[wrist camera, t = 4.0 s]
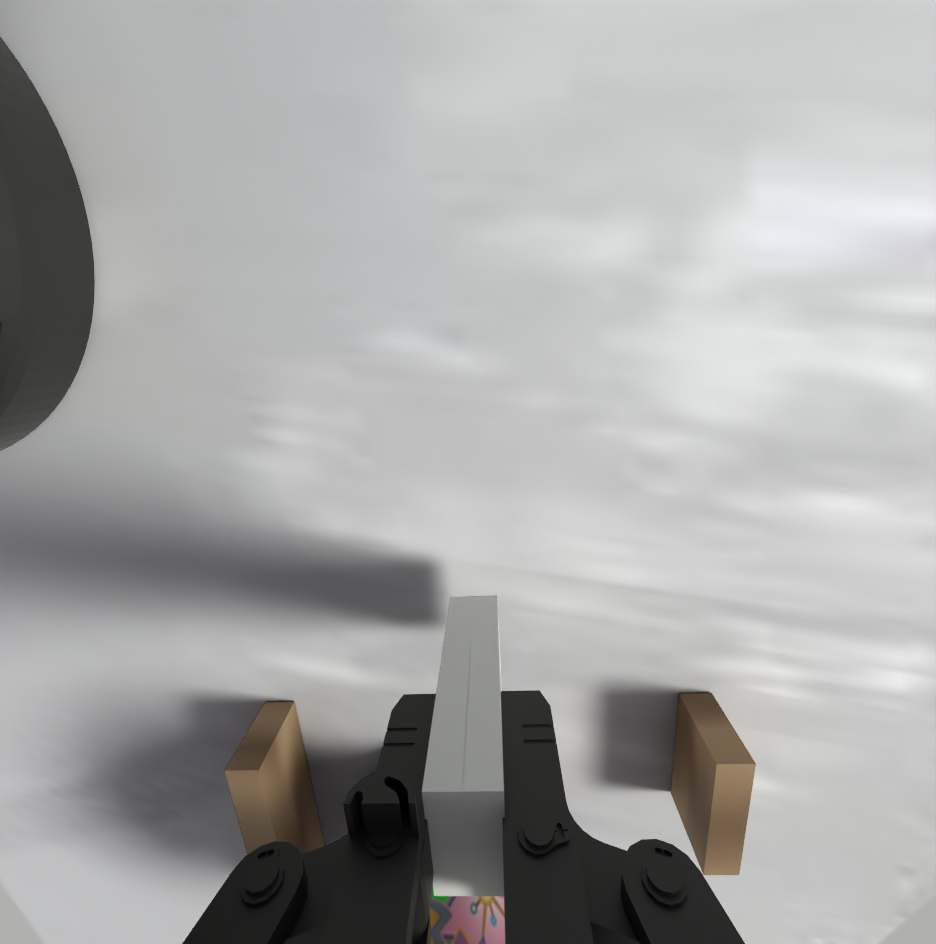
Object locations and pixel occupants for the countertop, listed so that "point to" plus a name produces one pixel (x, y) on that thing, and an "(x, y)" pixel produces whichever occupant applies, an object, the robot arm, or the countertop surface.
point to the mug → (467, 919)
